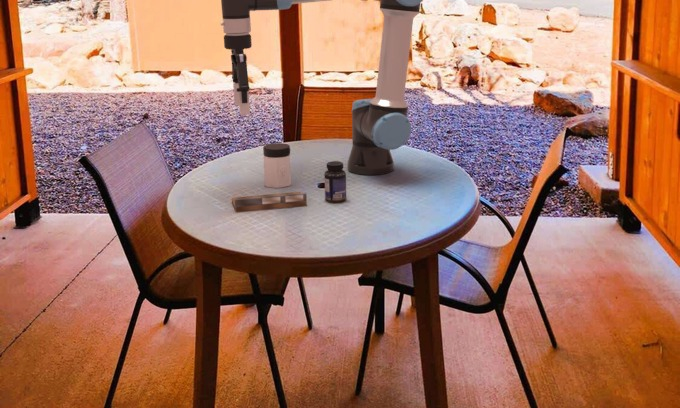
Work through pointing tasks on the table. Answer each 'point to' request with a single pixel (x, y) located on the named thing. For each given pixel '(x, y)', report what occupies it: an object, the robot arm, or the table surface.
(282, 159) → the jar
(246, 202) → the wooden compartment tray
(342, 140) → the table surface
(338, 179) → the pill bottle
